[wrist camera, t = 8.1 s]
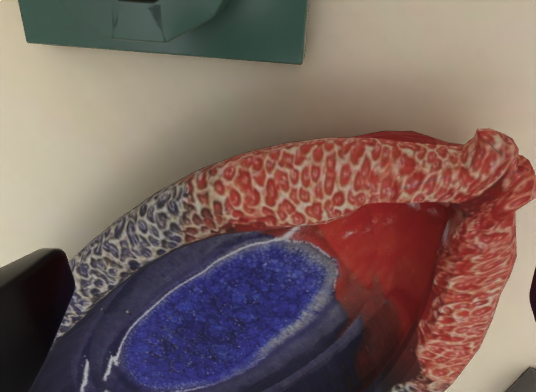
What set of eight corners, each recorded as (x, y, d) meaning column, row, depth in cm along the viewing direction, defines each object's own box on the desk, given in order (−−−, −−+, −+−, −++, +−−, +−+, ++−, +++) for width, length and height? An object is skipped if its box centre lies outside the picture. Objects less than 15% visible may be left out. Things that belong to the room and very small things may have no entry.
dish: (-38, 353, 28) (-107, 429, 24) (374, -37, 15) (388, -27, 11) (154, 483, 32) (126, 567, 28) (606, 266, 19) (684, 362, 15)
